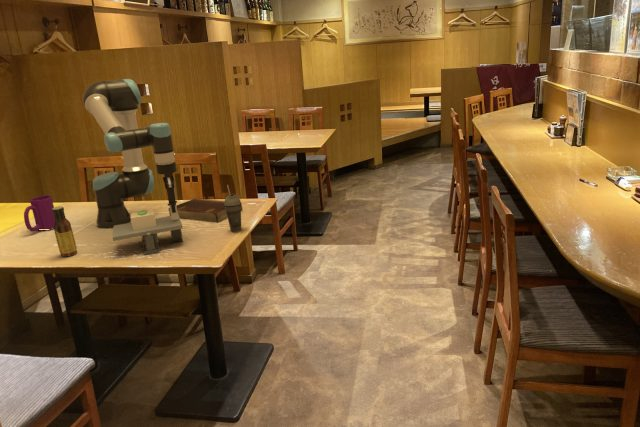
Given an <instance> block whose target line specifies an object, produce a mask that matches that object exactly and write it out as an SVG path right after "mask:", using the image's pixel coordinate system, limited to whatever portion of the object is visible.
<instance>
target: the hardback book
mask: <svg viewBox="0 0 640 427" xmlns="http://www.w3.org/2000/svg"><path fill="white" fill-rule="evenodd" d="M224 201H225V200H217V199H206V198H204V199H203V198H193V199H190V200H186V201H185V202H181V203H179V204H176V206H177V212H178V214H179V217H180V220H181V219H182V220H191V221H199V222H209V223H217V224H218V223H220V222H222V221H224V220H227V219H228V217H227V213H226V209H225V206H224ZM242 211H243V204H242V203H241V212H242ZM168 213H169V216H171V213H170V207H169V208H168Z"/></svg>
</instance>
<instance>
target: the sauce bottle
mask: <svg viewBox="0 0 640 427" xmlns="http://www.w3.org/2000/svg"><path fill="white" fill-rule="evenodd" d="M52 211H53V213H54V217H55V223H54V229H53V230H54V234H55V240H56V243H57V246H58V250H59V253H60V256H61V257H62V256H68V257H72V256H71V255H73V256H75V255H76V254H78V250H77V248H78V247H77V245H76V239H75V236H74V232H73V229H72V225H71V222H70V221H69V220H68V219H67V218H66V213H65V208H64V206H59V205H58V206H54V208H52Z"/></svg>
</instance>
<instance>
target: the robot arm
mask: <svg viewBox="0 0 640 427" xmlns="http://www.w3.org/2000/svg"><path fill="white" fill-rule="evenodd" d="M141 103H142V96H141V92H140V90H139V87H138V85H137V84H136V82H135V81H134V80H132V79H131V78H124V79H123V78H120V79H110V80H100V81H99V80H98V81H96V82H95V81H94V82H93V83H91V84H90V85H88V86H87V88H86V89H85V90H84V93H83V95H82V104H83V107H84V108H85V110H86V111H87V112H88V113H89V114H91V115H92V116H93V117H94V119H95V121H96V123H97V124H98V125H99V127H100V128H101V130H102V131H103V133H104V135H103V142H104V146H105V148H106V151H108V152H109V153H116V152H117V153H120V152H121V154H122V158H123V159H122V160H123V164H124V166H123V167H122V169H121V173H120V174H119V172H117V171H112V172H106V173H102V174H100V175H97V176H95V178H93V179H92V190H93V192H94V196H95V201H96V207H97V215H96V217H97V218H96V226H97V227H98V228H101V229H109V228H114V226H115V225H120V224H126V223H131V213H130V212H129V210H128V209H127V207H126V206H125V201H124V200H125V199H130V198H134V197H135V198H136V197H139V196H145V195H147V194H151V193H152V192H153V190H154V187H155V178H154V173H153V171H152V170H151V168H149V167H148V165H146V164H145V163H144V156H143V150H142V149H143V148H148V147H152V150H153V156H154V157H153V158H154V163H155V164H156V165H155V166H156V167H155V168H156V173H157V174H158V175H164V176H162V180H163V184H164V187H165V189H166V193H167V194H166V195H167V201H168V203H167V206H169V208H170V213H171V219H172V220H178V219H179V218H178V212H177V206H176V205H177V203H178V201H177V200H176V194H175V183H174V182H175V179H174V176H173V175H172V174H174V173H176V172H177V170H178V169H177V164H176V162H175V160H176V158H175V156H176V153H175V151H174V146H173V138H172V131H171V127H170V124H169V123H167V122H156V123H152V124H150V125H149V126H145V127H142V128H139V127H138V121H137V114H136V113H137V111H138V110H139V105H141Z"/></svg>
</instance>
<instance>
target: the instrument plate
mask: <svg viewBox="0 0 640 427" xmlns="http://www.w3.org/2000/svg"><path fill="white" fill-rule="evenodd" d="M130 216H131V221H130V222H129V223H126V224H120V225H115V226H114V227H112V229H113V230H112V241H113V242H116V241H120V240H121V241H122V240H126V239H127V240H128V239H131V238H138V237H142V236H144V235H151V234H155V233H157V234H159V233H165V232H171V231H172V230H177V229H181V230H183V228H184V227H183V224H182V221H181V219H180V217H179V214H178V218H179V219H178V220H172V219H171V216H170V215H168V216H162V217H156V215H155V210H154V209H150V210H140V211H138V212H133V213H130Z"/></svg>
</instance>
